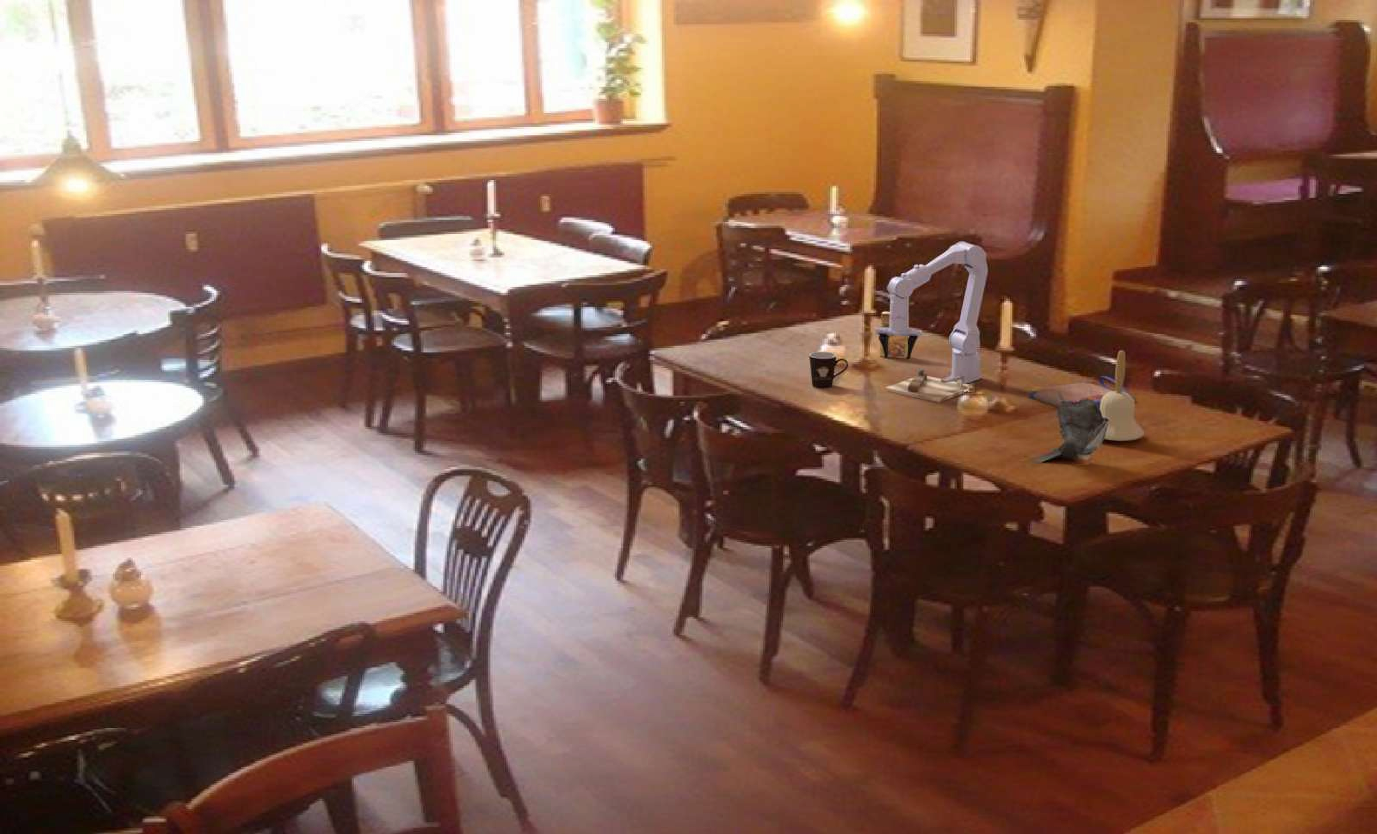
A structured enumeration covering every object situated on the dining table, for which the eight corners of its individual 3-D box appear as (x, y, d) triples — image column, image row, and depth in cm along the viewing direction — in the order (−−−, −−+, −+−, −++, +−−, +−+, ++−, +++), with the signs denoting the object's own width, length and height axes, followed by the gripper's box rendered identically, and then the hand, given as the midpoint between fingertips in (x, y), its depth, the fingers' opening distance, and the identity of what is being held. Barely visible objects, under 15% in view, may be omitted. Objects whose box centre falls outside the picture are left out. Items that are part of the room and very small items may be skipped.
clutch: (1026, 400, 429) (1070, 415, 412) (1027, 385, 427) (1071, 399, 411) (1096, 387, 441) (1141, 402, 424) (1097, 372, 439) (1142, 386, 423)
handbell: (1100, 425, 400) (1107, 341, 393) (1151, 435, 391) (1159, 349, 383) (1077, 438, 388) (1083, 351, 381) (1129, 449, 379) (1137, 360, 372)
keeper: (945, 391, 433) (945, 380, 432) (940, 389, 434) (940, 379, 433) (963, 386, 438) (964, 376, 437) (958, 385, 439) (959, 374, 438)
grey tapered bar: (915, 377, 448) (915, 368, 447) (927, 378, 447) (928, 369, 446) (906, 391, 433) (906, 381, 432) (919, 392, 431) (919, 382, 430)
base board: (921, 377, 451) (921, 374, 451) (974, 389, 438) (975, 385, 438) (885, 390, 437) (885, 387, 437) (939, 402, 424) (939, 399, 424)
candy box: (879, 357, 478) (880, 313, 473) (882, 354, 482) (883, 310, 477) (905, 359, 475) (906, 315, 470) (907, 356, 479) (909, 312, 474)
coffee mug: (804, 387, 442) (804, 356, 439) (815, 380, 449) (815, 350, 446) (838, 391, 437) (839, 360, 434) (848, 385, 444) (849, 354, 441)
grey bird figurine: (1078, 475, 360) (1084, 408, 354) (1032, 459, 371) (1036, 395, 366) (1114, 464, 368) (1119, 398, 362) (1067, 449, 379) (1072, 385, 374)
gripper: (873, 317, 433) (872, 359, 437) (920, 320, 429) (918, 362, 433) (877, 312, 440) (876, 354, 444) (923, 315, 435) (922, 357, 439)
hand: (897, 358), depth 439 cm, fingers open, 6 cm apart
